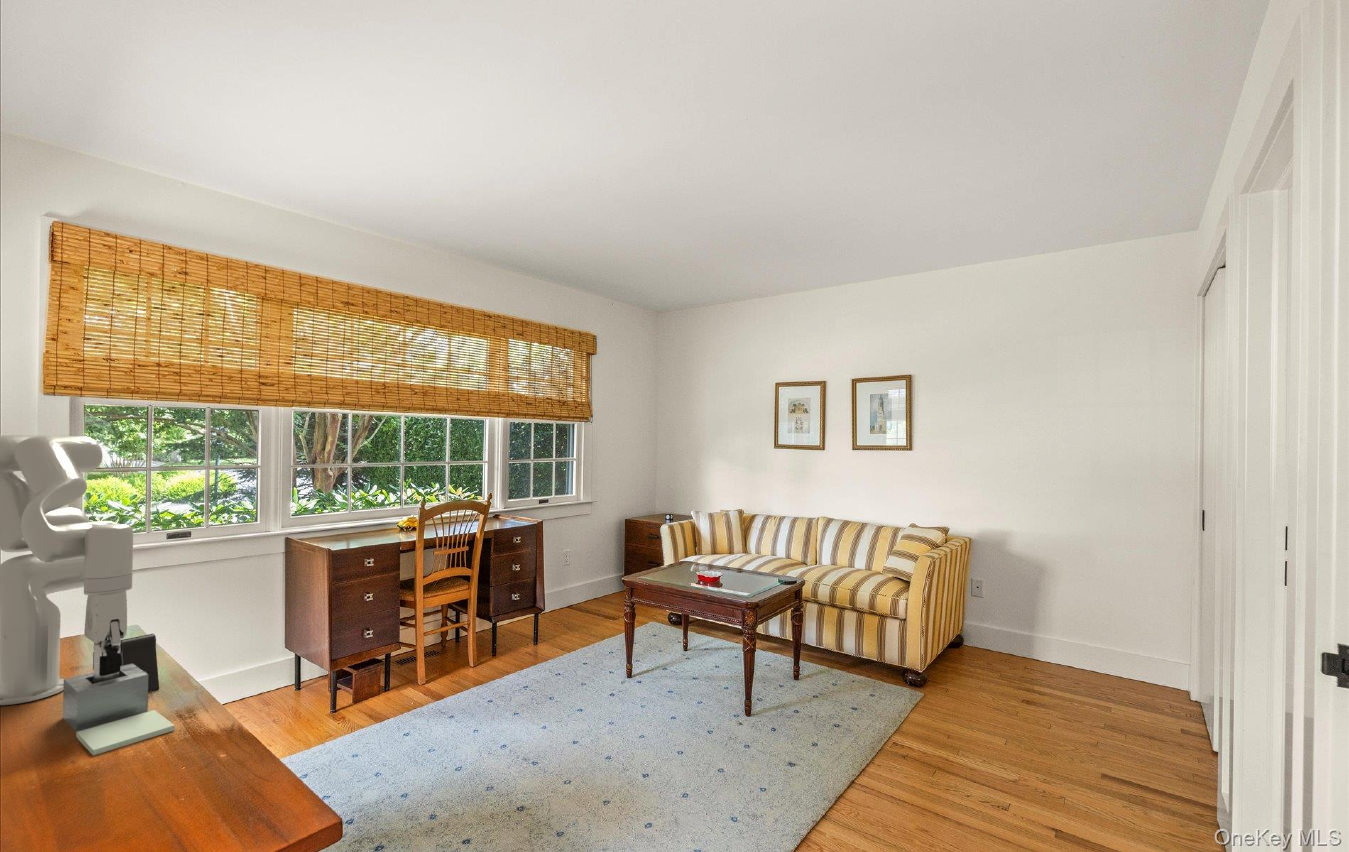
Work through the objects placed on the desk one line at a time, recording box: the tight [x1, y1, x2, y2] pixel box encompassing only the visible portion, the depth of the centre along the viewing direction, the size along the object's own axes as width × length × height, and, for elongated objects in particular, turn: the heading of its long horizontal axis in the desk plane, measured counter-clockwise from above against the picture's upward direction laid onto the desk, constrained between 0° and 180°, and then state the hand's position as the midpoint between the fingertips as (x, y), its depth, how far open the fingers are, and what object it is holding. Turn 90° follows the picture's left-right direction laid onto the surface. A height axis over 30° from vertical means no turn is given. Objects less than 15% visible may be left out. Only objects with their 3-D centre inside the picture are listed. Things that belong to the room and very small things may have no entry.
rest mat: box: [75, 709, 176, 756], centre depth 121 cm, size 12×12×1 cm
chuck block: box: [62, 664, 149, 733], centre depth 129 cm, size 11×11×8 cm
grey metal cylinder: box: [93, 642, 119, 684], centre depth 129 cm, size 4×4×12 cm
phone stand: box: [120, 633, 160, 693], centre depth 143 cm, size 9×6×12 cm, turn 54°
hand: (106, 670), depth 129 cm, fingers closed on grey metal cylinder, 4 cm apart
